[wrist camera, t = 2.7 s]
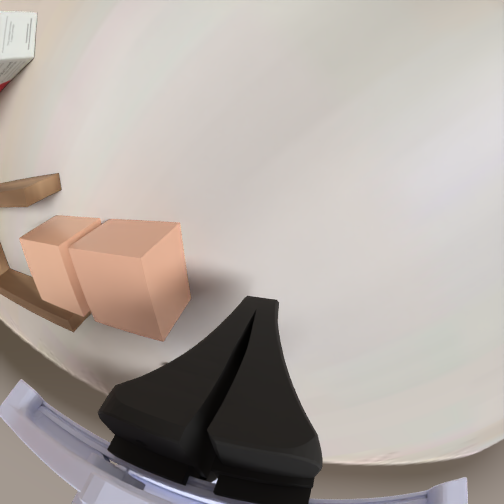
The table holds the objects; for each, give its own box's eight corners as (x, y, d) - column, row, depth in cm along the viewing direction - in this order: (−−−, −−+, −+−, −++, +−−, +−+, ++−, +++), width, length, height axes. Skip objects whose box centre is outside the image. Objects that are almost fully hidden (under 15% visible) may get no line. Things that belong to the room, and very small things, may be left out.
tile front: (192, 297, 17) (163, 341, 13) (128, 285, 18) (95, 321, 14) (181, 221, 14) (140, 258, 11) (111, 218, 15) (67, 247, 12)
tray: (95, 308, 20) (73, 332, 17) (9, 275, 23) (-8, 289, 20) (58, 173, 14) (23, 188, 12) (-18, 187, 18) (-38, 198, 15)
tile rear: (117, 282, 18) (83, 316, 14) (73, 271, 19) (42, 299, 15) (101, 217, 15) (58, 246, 12) (57, 214, 16) (19, 238, 13)
